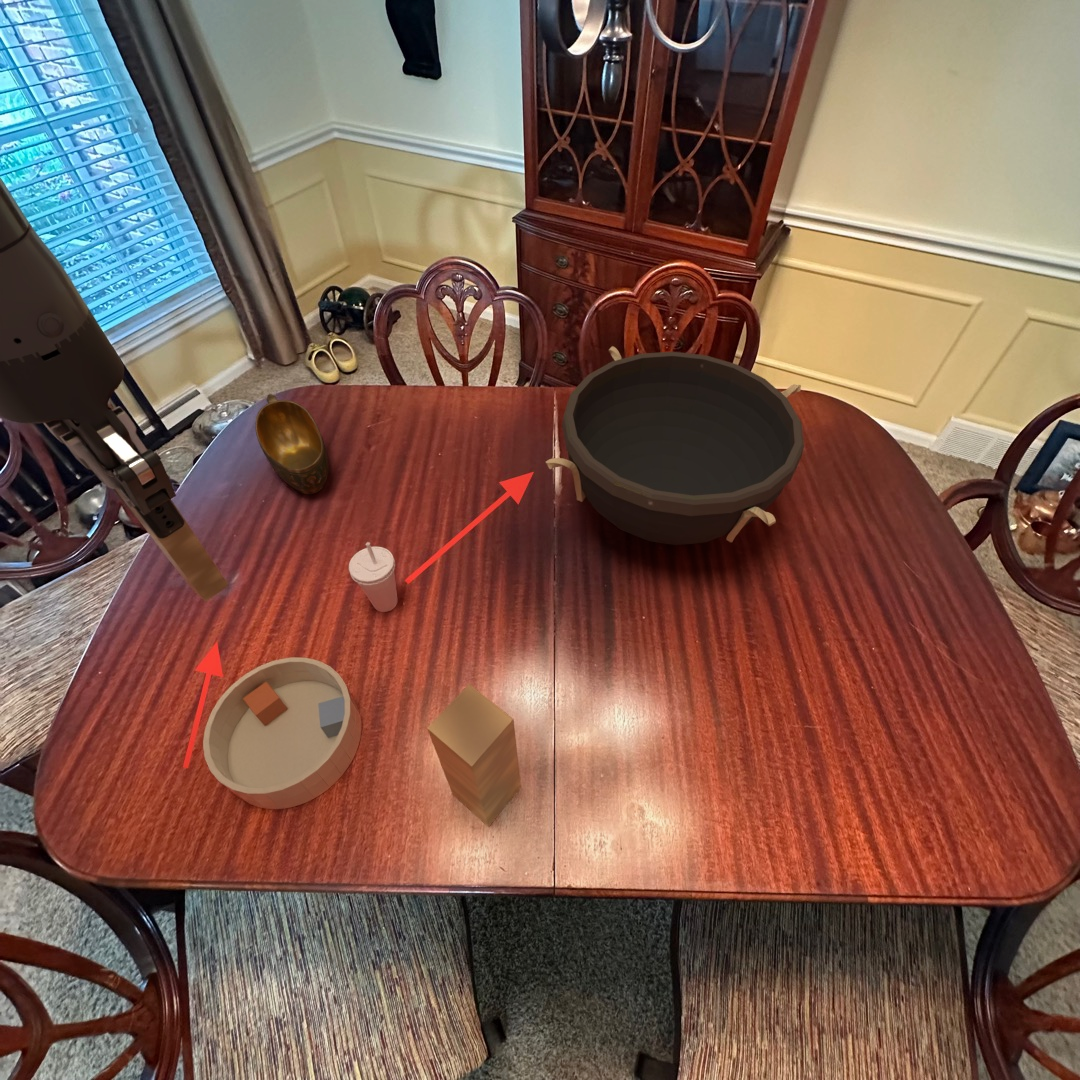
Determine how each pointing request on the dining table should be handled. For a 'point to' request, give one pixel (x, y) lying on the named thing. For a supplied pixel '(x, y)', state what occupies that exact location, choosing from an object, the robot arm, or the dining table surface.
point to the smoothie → (375, 576)
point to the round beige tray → (281, 736)
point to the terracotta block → (265, 703)
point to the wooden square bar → (189, 558)
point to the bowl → (680, 445)
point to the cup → (292, 444)
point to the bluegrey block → (332, 716)
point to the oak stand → (477, 753)
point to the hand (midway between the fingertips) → (161, 521)
